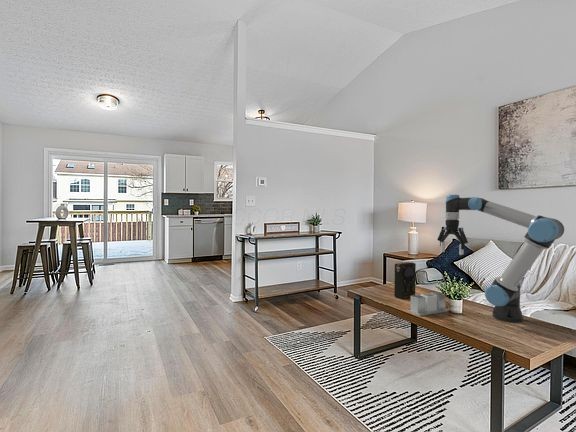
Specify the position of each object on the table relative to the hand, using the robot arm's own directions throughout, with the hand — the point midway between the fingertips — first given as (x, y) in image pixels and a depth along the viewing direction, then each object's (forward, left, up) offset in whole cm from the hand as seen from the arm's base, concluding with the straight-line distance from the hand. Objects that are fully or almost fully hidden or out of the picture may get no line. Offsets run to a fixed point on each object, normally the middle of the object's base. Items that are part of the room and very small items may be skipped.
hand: (451, 253), depth 201 cm
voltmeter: (+2, -38, -37) cm, 53 cm away
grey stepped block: (+13, -6, -37) cm, 39 cm away
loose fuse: (+4, -23, -37) cm, 43 cm away
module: (+13, -6, -36) cm, 38 cm away
